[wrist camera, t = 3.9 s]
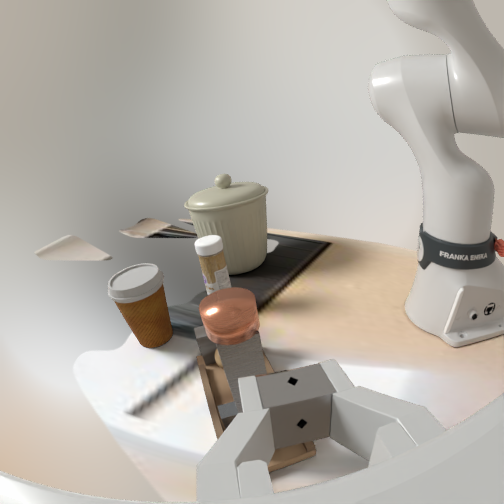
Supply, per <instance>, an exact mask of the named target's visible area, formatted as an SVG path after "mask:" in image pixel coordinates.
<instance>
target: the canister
mask: <svg viewBox="0 0 504 504" xmlns="http://www.w3.org/2000/svg"><path fill="white" fill-rule="evenodd" d="M215 184H216V186H214V187H210V188H207V189H204V190H202V191H199V192H197V193H195V194H194V195H192V196H191V197H190V198H189V200H188V201H186V202H185V204H184V206H185V208H186V209H188V210H189V213H190V216H191V218H192V221H193V224H194V227H195V230H196V233H197V236H198V238H202V237H204V236H209V235H218V236H220V237H221V238H222V243H223V253H224V258H225V262H226V265H227V270H228V274H229V275H232V274H234V275H235V274H241V273H245V272H248V271H251V270H254V269H255V268H257V267H258V266H260V265H261V264H262V263H263V261H264V260H265V257H266V254H267V218H266V194H267V193H268V189H267V188H266V187H264V186H261V185H260V184H258V183H254V182H235V183H231V177H230V176H229V175H228V174H221V175H218V176H217V177H216V178H215Z"/></svg>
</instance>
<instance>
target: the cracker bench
mask: <svg viewBox="0 0 504 504" xmlns="http://www.w3.org/2000/svg"><path fill="white" fill-rule="evenodd" d="M194 331H195V335H196V339H197V342H198V345H199V348H200V351H201V354H202V355H201V356H197V361H198V366H199V370H200V374H201V379H202V383H203V387H204V391H205V395H206V399H207V403H208V407H209V410H210V414H211V418H212V421H213V425H214V429H215V432H216V436H217V439H219V438H220V436H221V435H222V434H223V432H224V431H225V430H226V429H225V426H224V424H223V422H222V420H221V417H220V413H219V410H218V407H217V406H219V405H223V404H226V403H230V402H233V401H234V399H233V396H232V393H231V390H230V387H229V384H228V381H227V378H226V375H225V372H224V369H223V366H222V363H221V359H220V356H219V353H218V350H217V347H216V343H214V342H212V341H211V340H210V339H209V338H208V337H207V334H206V331H205V328H204V326H200V327H196V328H194ZM262 351H263V350H262ZM263 356H264V362H265V367H266V372H267V373H273V372H274V371H273V369H272V367H271V365H270V363H269V361H268V359H267V357H266V355H265V354H264V352H263ZM315 455H316V449H315V445H314V443H313V441H309V442H305V443H300V444H296V445H292V446H288V447H284V448H280V449H276V450H275V452H274V454H273V456H272V458H271V461H270V463H269V465H268V471H269V472H272V471H275V470H278V469H281V468H284V467H286V466H289V465H292V464H294V463H297V462H300V461H302V460H305V459H307V458H310V457H312V456H315Z"/></svg>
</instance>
